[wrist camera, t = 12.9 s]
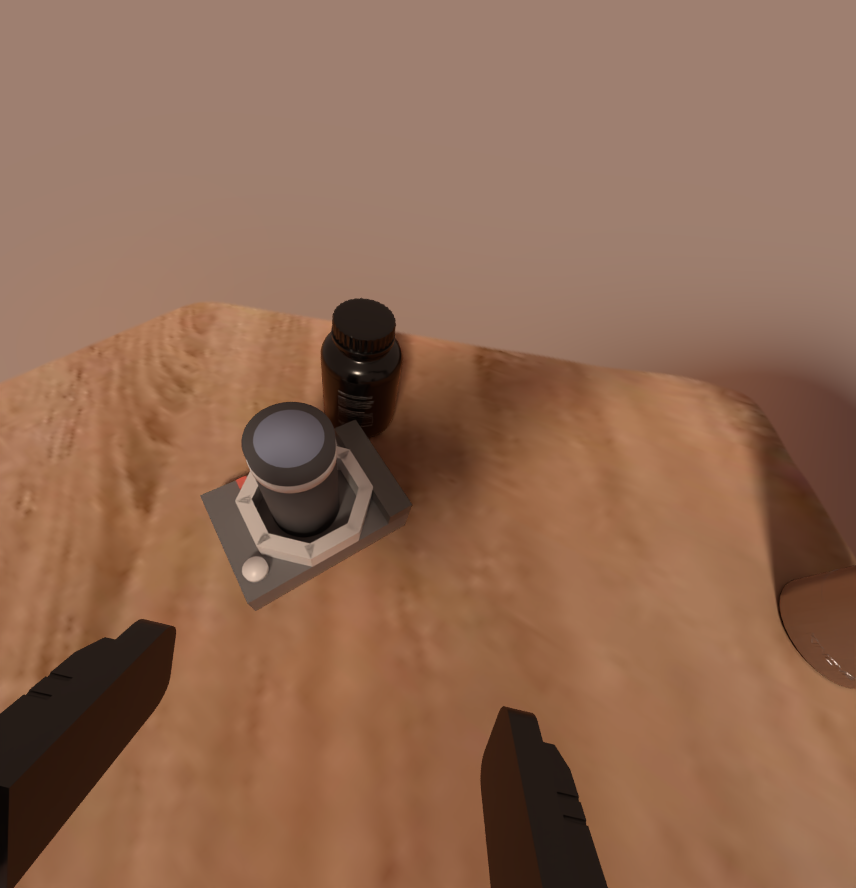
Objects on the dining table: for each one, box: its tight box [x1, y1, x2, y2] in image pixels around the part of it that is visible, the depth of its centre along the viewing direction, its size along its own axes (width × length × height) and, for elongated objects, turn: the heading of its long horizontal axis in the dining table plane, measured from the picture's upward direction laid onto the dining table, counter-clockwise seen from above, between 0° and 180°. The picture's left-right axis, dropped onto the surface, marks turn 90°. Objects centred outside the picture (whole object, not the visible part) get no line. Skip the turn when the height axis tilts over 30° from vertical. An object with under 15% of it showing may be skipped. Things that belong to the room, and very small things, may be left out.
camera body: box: [200, 420, 412, 611], centre depth 31 cm, size 13×9×5 cm
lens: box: [242, 402, 339, 537], centre depth 26 cm, size 5×5×10 cm
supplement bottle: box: [321, 298, 403, 438], centre depth 35 cm, size 7×7×12 cm
